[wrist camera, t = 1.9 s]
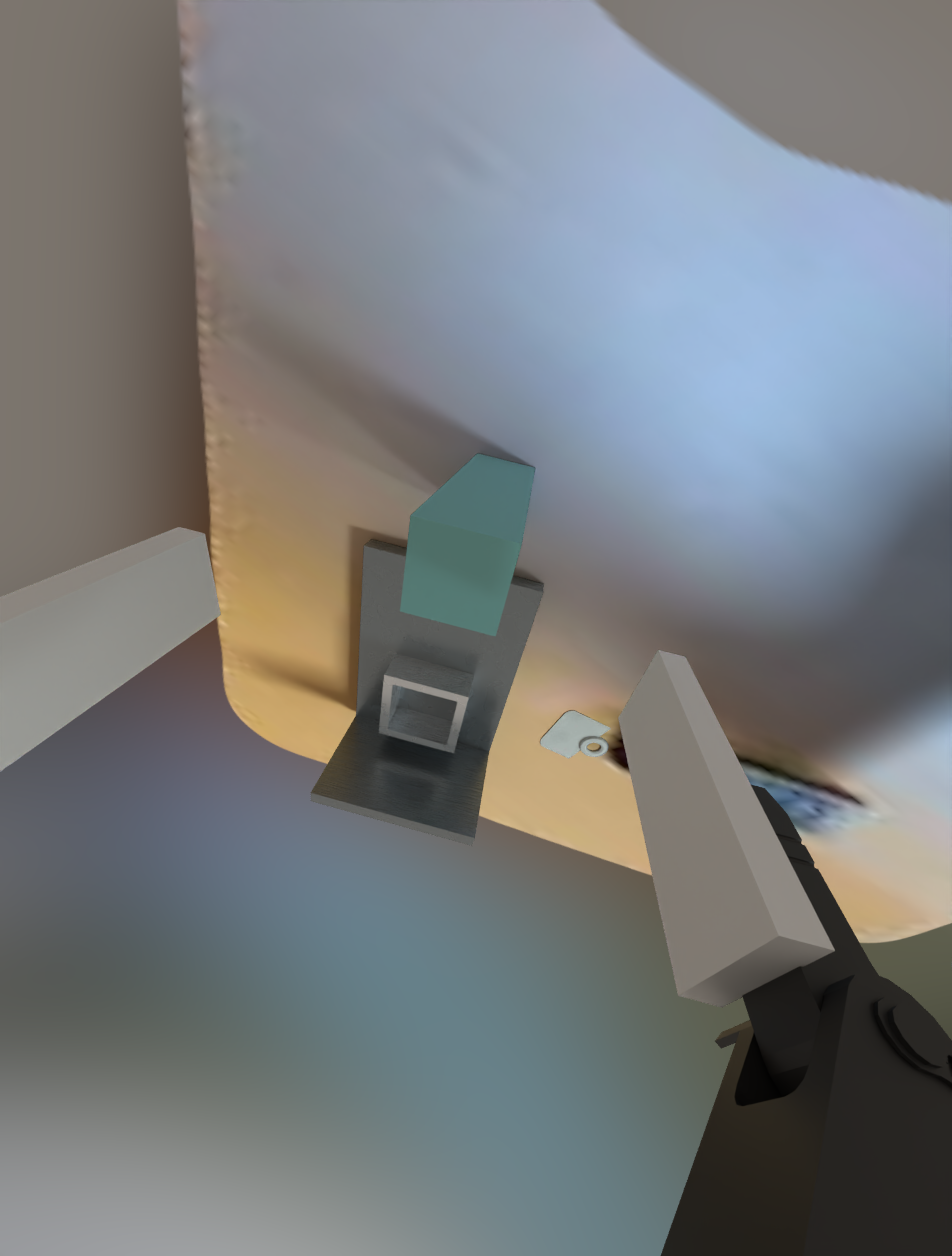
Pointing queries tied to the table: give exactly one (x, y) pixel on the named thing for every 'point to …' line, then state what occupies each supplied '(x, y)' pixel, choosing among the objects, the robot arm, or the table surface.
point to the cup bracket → (423, 706)
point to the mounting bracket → (575, 735)
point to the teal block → (467, 545)
